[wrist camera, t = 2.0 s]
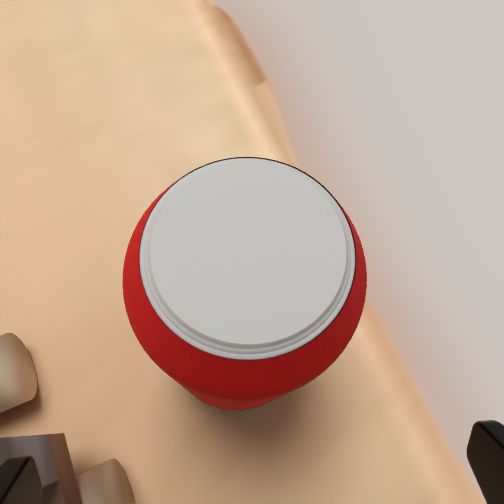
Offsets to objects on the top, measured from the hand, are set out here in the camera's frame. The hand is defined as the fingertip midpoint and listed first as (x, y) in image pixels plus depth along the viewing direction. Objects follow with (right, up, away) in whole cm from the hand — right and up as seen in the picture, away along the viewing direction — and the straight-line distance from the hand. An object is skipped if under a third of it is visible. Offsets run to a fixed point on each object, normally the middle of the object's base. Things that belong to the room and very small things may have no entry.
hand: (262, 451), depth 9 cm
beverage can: (-1, 0, +12) cm, 12 cm away
